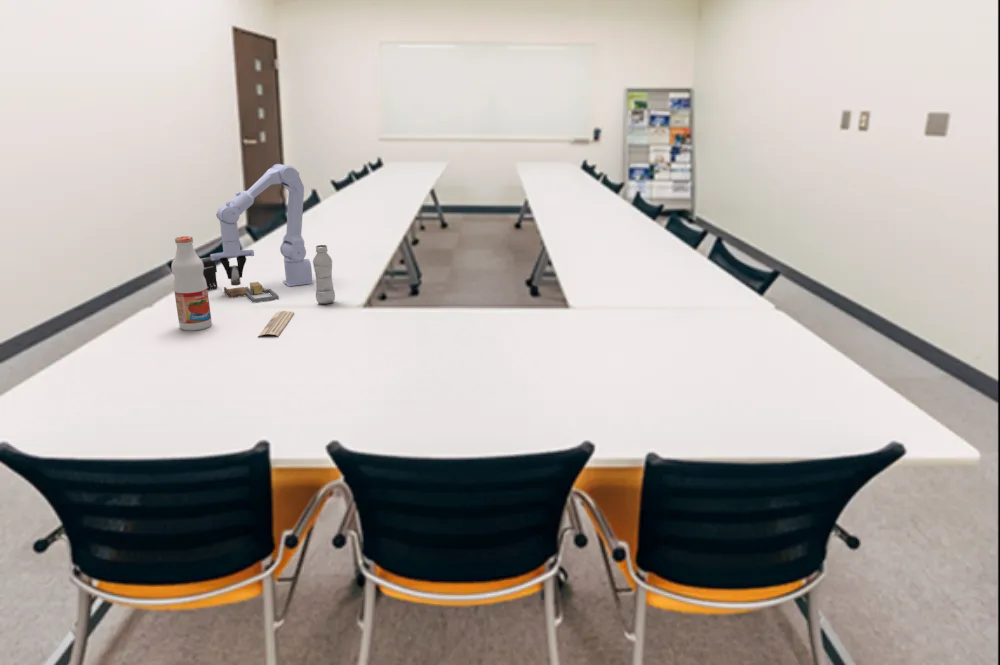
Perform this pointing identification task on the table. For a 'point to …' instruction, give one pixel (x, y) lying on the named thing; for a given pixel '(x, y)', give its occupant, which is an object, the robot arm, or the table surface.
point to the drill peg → (235, 275)
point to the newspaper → (277, 323)
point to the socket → (274, 296)
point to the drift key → (256, 287)
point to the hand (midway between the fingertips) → (235, 277)
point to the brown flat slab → (235, 291)
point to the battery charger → (210, 273)
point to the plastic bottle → (323, 276)
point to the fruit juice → (190, 287)
